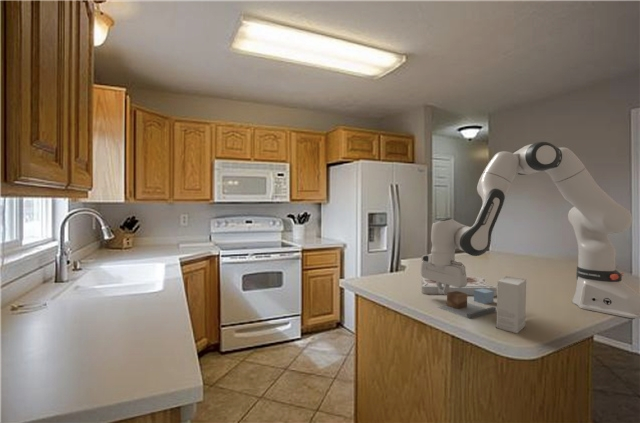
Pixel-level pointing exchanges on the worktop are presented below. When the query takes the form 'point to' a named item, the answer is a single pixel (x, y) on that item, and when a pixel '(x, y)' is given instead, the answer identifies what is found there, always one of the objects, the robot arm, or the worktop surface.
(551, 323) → the worktop surface
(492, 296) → the blue block
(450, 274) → the robot arm
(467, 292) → the decorative sign
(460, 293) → the walnut block
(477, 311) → the grey flat square slab
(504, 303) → the skincare box
